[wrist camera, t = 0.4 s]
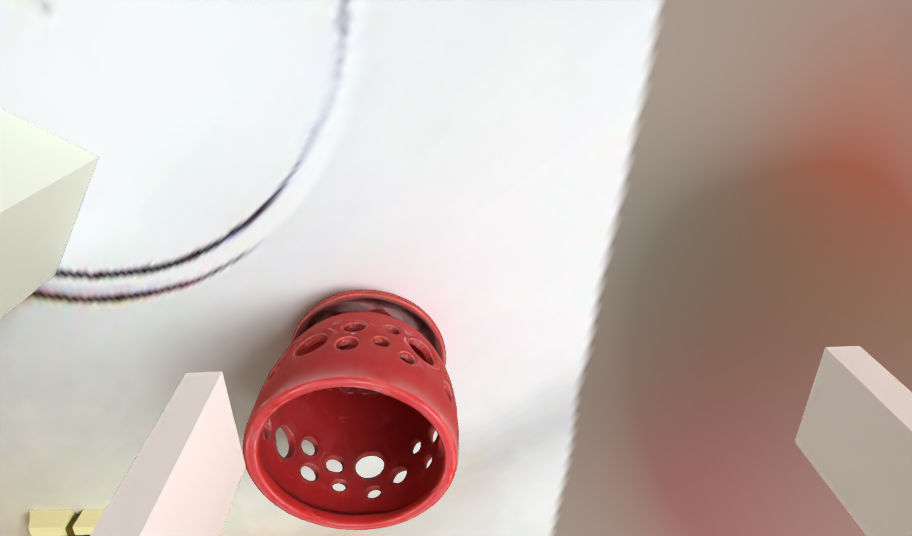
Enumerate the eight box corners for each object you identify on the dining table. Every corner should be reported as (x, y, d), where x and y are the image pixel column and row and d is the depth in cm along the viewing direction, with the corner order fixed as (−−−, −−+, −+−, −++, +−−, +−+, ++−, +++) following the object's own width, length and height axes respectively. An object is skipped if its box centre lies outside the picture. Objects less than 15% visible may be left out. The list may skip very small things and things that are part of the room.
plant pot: (267, 282, 43) (214, 386, 33) (446, 268, 43) (452, 366, 33) (300, 420, 49) (265, 546, 38) (458, 408, 49) (466, 530, 39)
